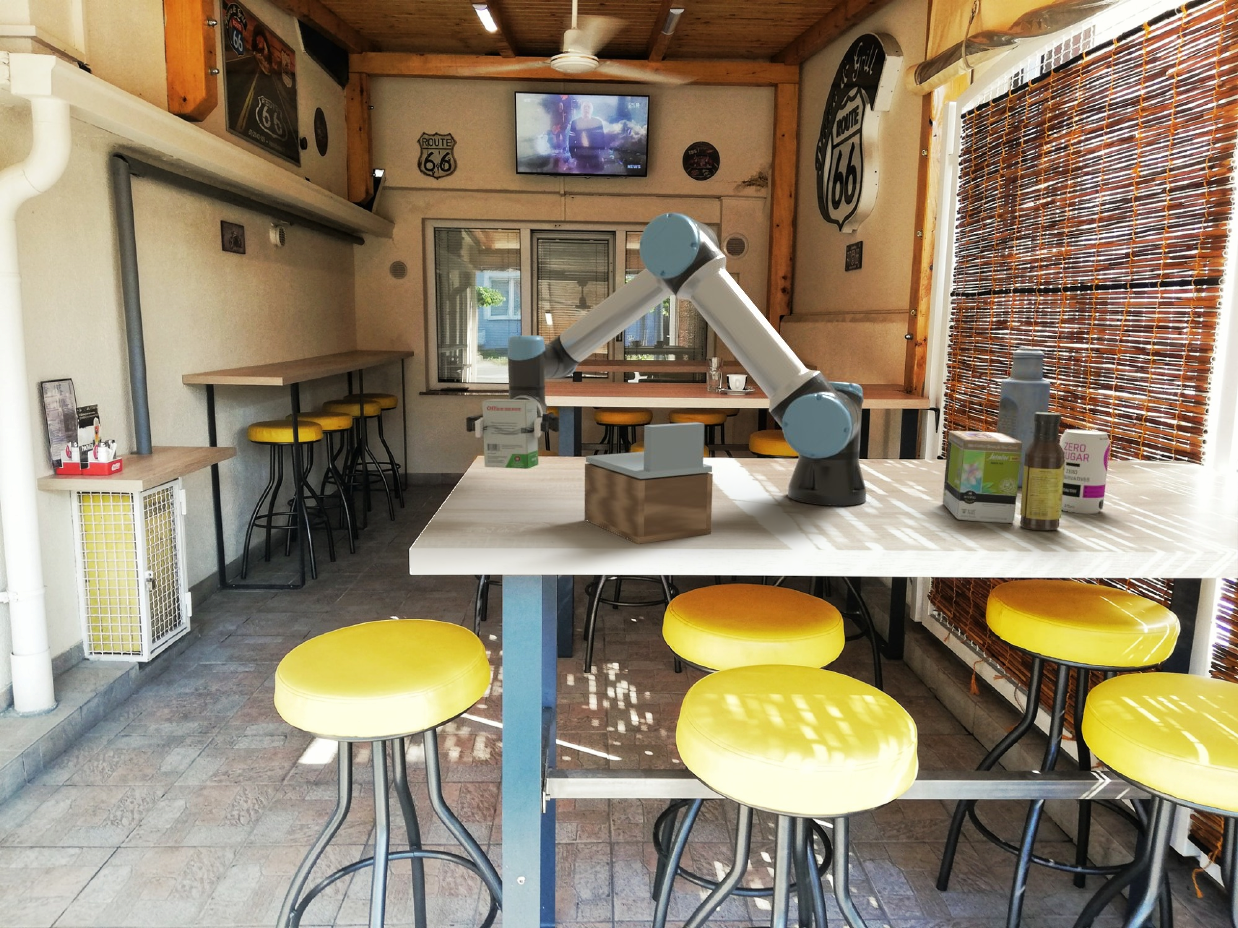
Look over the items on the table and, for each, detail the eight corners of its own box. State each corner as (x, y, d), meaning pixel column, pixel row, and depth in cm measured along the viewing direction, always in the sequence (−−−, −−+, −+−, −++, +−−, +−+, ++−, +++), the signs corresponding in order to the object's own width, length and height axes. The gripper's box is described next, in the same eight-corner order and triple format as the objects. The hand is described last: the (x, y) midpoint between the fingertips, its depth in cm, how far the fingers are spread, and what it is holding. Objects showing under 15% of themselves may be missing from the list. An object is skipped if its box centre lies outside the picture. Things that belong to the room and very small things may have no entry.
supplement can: (1099, 507, 160) (1108, 430, 158) (1104, 516, 153) (1113, 435, 150) (1052, 503, 164) (1060, 428, 161) (1054, 511, 156) (1062, 432, 154)
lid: (585, 461, 143) (586, 415, 142) (652, 456, 150) (653, 412, 149) (640, 478, 128) (641, 427, 127) (711, 472, 135) (713, 423, 133)
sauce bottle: (1067, 531, 141) (1079, 414, 138) (1035, 533, 140) (1047, 415, 136) (1040, 522, 147) (1051, 410, 144) (1010, 524, 146) (1020, 411, 142)
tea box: (1016, 524, 146) (1024, 441, 144) (955, 521, 148) (962, 438, 146) (995, 506, 161) (1002, 430, 158) (941, 503, 162) (946, 428, 160)
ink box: (539, 465, 148) (538, 398, 146) (527, 469, 143) (526, 400, 141) (495, 462, 151) (494, 397, 149) (482, 467, 146) (481, 399, 144)
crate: (584, 520, 145) (584, 463, 143) (652, 512, 152) (653, 458, 150) (638, 543, 130) (639, 480, 128) (710, 533, 136) (712, 473, 135)
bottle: (982, 480, 188) (993, 346, 183) (1019, 478, 191) (1031, 347, 186) (1011, 488, 179) (1024, 348, 174) (1050, 486, 181) (1064, 348, 177)
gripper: (578, 434, 164) (572, 451, 142) (466, 435, 164) (443, 451, 142) (577, 396, 163) (571, 407, 141) (465, 397, 163) (441, 407, 141)
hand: (507, 429), depth 141 cm, fingers closed on ink box, 9 cm apart
